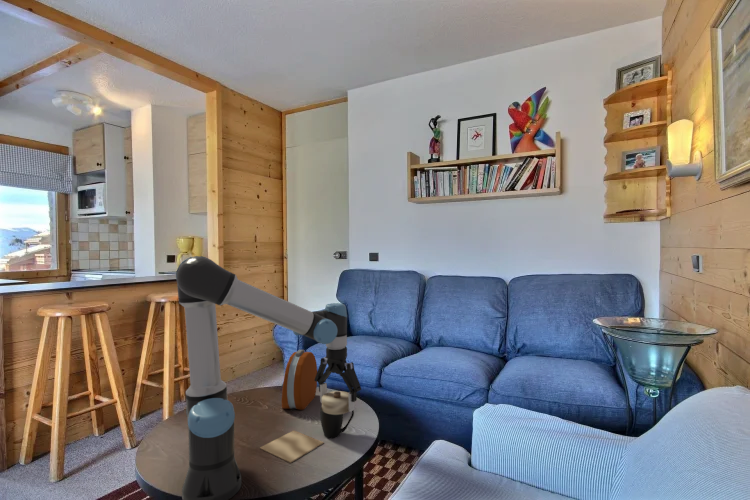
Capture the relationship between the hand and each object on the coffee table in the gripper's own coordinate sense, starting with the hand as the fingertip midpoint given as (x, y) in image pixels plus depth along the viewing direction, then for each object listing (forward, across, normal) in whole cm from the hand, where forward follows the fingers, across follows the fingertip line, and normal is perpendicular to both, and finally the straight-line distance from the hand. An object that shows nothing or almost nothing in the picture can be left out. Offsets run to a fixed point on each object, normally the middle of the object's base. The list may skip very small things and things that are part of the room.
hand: (337, 405), depth 138 cm
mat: (+10, +7, +15) cm, 20 cm away
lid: (+1, 0, 0) cm, 1 cm away
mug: (+10, 0, 0) cm, 11 cm away
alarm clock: (+10, +33, -12) cm, 37 cm away
